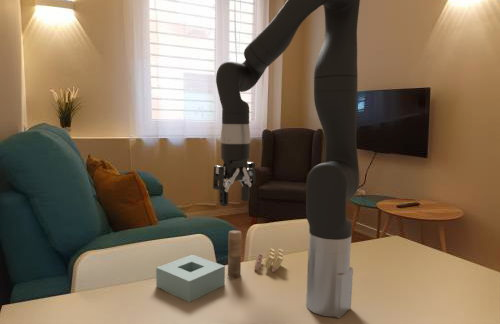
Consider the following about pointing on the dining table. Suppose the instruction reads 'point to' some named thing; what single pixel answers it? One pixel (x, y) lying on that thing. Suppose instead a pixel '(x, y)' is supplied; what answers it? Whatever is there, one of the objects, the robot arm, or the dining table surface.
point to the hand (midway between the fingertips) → (235, 203)
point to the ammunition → (270, 259)
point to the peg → (234, 254)
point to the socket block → (190, 277)
